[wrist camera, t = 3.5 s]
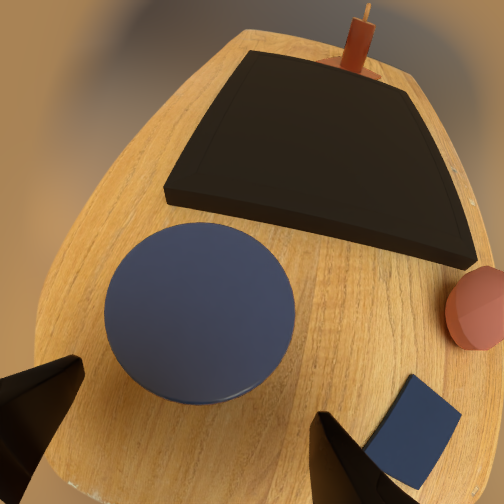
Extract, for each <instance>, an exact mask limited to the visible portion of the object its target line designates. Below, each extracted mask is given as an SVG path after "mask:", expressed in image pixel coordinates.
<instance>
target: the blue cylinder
mask: <svg viewBox="0 0 504 504" xmlns="http://www.w3.org/2000/svg"><path fill="white" fill-rule="evenodd" d="M104 319H105V329H106V333H107V338H108V341H109V344H110V347H111V349H112V351H113V353H114V355H115V357H116V359H117V361H118V362H119V364H120V365H121V367H122V368H123V369H124V371H125V372H126V373H127V374H128V375H129V376H130V377H131V378H132V379H133V380H134V381H135V382H136V383H137V384H139V385H140V386H141V387H143V388H144V389H145V390H147V391H149V392H151V393H152V394H154V395H156V396H158V397H161V398H163V399H166V400H168V401H171V402H175V403H180V404H185V405H196V406H199V405H213V404H219V403H224V402H227V401H230V400H233V399H236V398H239V397H241V396H243V395H244V394H246V393H248V392H250V391H252V390H253V389H255V388H256V387H257V386H259V385H260V384H262V383H263V382H264V381H265V380H266V379H267V378H268V377H269V376H270V375H271V374H272V373H273V372H274V370H275V369H276V368H277V367H278V365H279V364H280V363H281V361H282V359H283V357H284V356H285V354H286V352H287V350H288V347H289V345H290V342H291V340H292V335H293V331H294V326H295V301H294V296H293V291H292V288H291V285H290V282H289V279H288V277H287V275H286V273H285V271H284V269H283V268H282V266H281V265H280V263H279V262H278V260H277V259H276V258H275V257H274V255H273V254H272V253H271V252H270V251H269V250H268V249H267V248H266V247H265V246H264V245H262V244H261V243H260V242H259V241H257V240H256V239H254V238H253V237H251V236H249V235H248V234H246V233H244V232H242V231H239V230H237V229H234V228H232V227H228V226H225V225H221V224H215V223H203V222H196V223H186V224H180V225H175V226H172V227H169V228H166V229H163V230H161V231H158V232H156V233H154V234H153V235H151V236H149V237H147V238H146V239H144V240H143V241H142V242H140V243H139V244H137V245H136V246H135V247H134V248H133V249H132V250H131V251H130V252H129V253H128V254H127V255H126V256H125V258H124V259H123V260H122V261H121V263H120V264H119V266H118V267H117V269H116V271H115V273H114V275H113V277H112V279H111V281H110V284H109V287H108V290H107V294H106V299H105V309H104Z"/></svg>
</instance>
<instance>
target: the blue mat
mask: <svg viewBox="0 0 504 504" xmlns="http://www.w3.org/2000/svg"><path fill="white" fill-rule="evenodd" d="M461 415H462V414H461V413H459V412H458V411H457V410H456V409H455V408H453V407H452V406H451V405H450V404H449V403H448V402H446V401H445V400H444V399H443V398H442V397H440V396H439V395H438V394H437V393H436V392H434V391H433V390H432V389H431V388H430V387H428V386H427V385H426V384H425V383H424V382H422V381H421V380H420V379H419V378H418V377H416V376H415V375H414V374H412V375H409V377H408V379H407V381H406V383H405V385H404V386H403V388H402V390H401V392H400V393H399V395H398V397H397V399H396V400H395V402H394V404H393V405H392V407H391V408H390V410H389V412H388V413H387V415H386V416H385V418H384V419H383V421H382V422H381V424H380V425H379V427H378V428H377V430H376V431H375V433H374V434H373V435H372V437H371V438H370V440H369V441H368V442H367V444H366V445H365V446H364V448H363V449H362V450H363V451H364V452H365V453H366V454H367V455H368V456H369V457H370V458H371V459H372V461H373V462H374V463H375V464H376V465H377V466H378V467H379V468H380V469H381V471H383V472H384V473H386V474H388V475H390V476H391V477H393V478H395V479H397V480H399V481H401V482H402V483H404V484H406V485H408V486H410V487H412V488H414V489H417V490H419V489H420V487H421V486H422V484H423V483H424V481H425V480H426V479H427V477H428V475H429V474H430V472H431V471H432V469H433V468H434V466H435V464H436V463H437V461H438V459H439V458H440V456H441V454H442V453H443V451H444V449H445V447H446V445H447V444H448V442H449V440H450V438H451V436H452V434H453V432H454V430H455V428H456V426H457V424H458V422H459V420H460V418H461Z"/></svg>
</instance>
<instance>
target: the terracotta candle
mask: <svg viewBox="0 0 504 504" xmlns="http://www.w3.org/2000/svg"><path fill="white" fill-rule="evenodd" d="M370 8H371V4H370V3H368V4H367V6H366V10H365V13H364V18H363V20H362V19H359V18H355V17H353V18H352V22H351V26H350V30H349V34H348V37H347V41H346V45H345V48H344V52H343V55H342V59H341V62H340V65H341V66H342V67H343V68H345V69H347V70H349V71H352V72H357V73H361V72H362V69H363V66H364V63H365V60H366V57H367V53H368V50H369V47H370V44H371V41H372V38H373V34H374V31H375V28H376V25H374V24H372V23H370V22H367V18H368V15H369V11H370Z"/></svg>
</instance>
